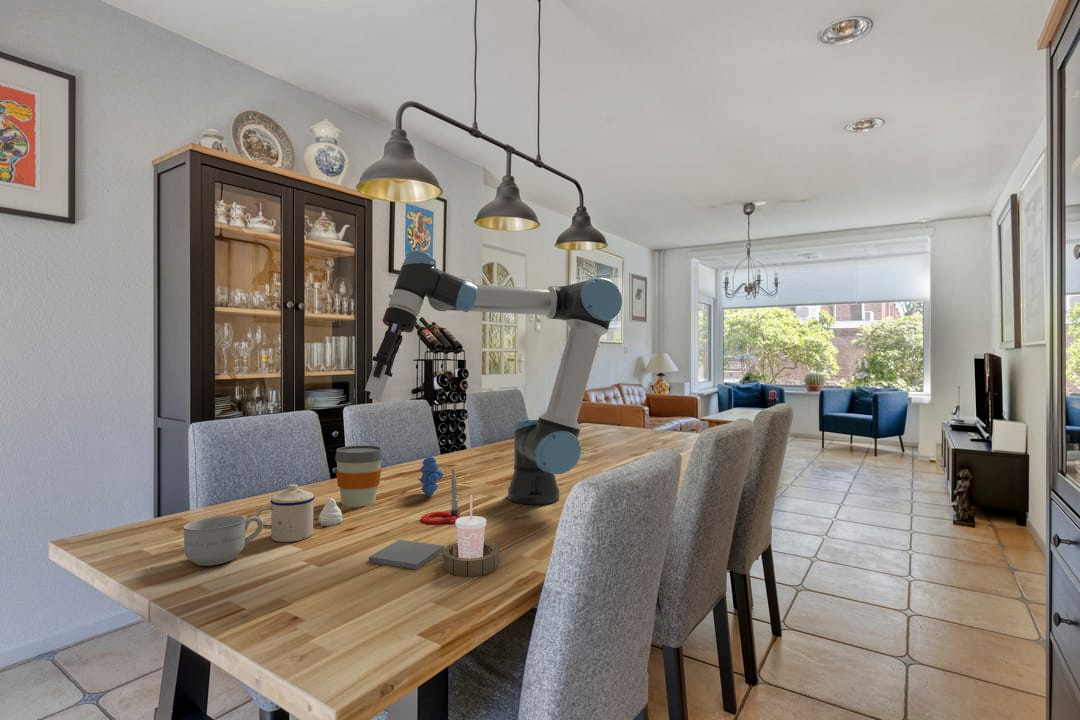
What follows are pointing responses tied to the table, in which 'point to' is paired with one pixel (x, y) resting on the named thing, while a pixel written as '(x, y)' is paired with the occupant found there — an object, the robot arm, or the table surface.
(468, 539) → the beverage cup
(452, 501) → the tow hook
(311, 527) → the teacup with lid
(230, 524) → the teacup
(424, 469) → the grapes
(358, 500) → the reusable coffee cup
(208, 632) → the table surface
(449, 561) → the stone block ring
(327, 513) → the white meringue swirl
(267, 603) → the table surface
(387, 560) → the coaster
